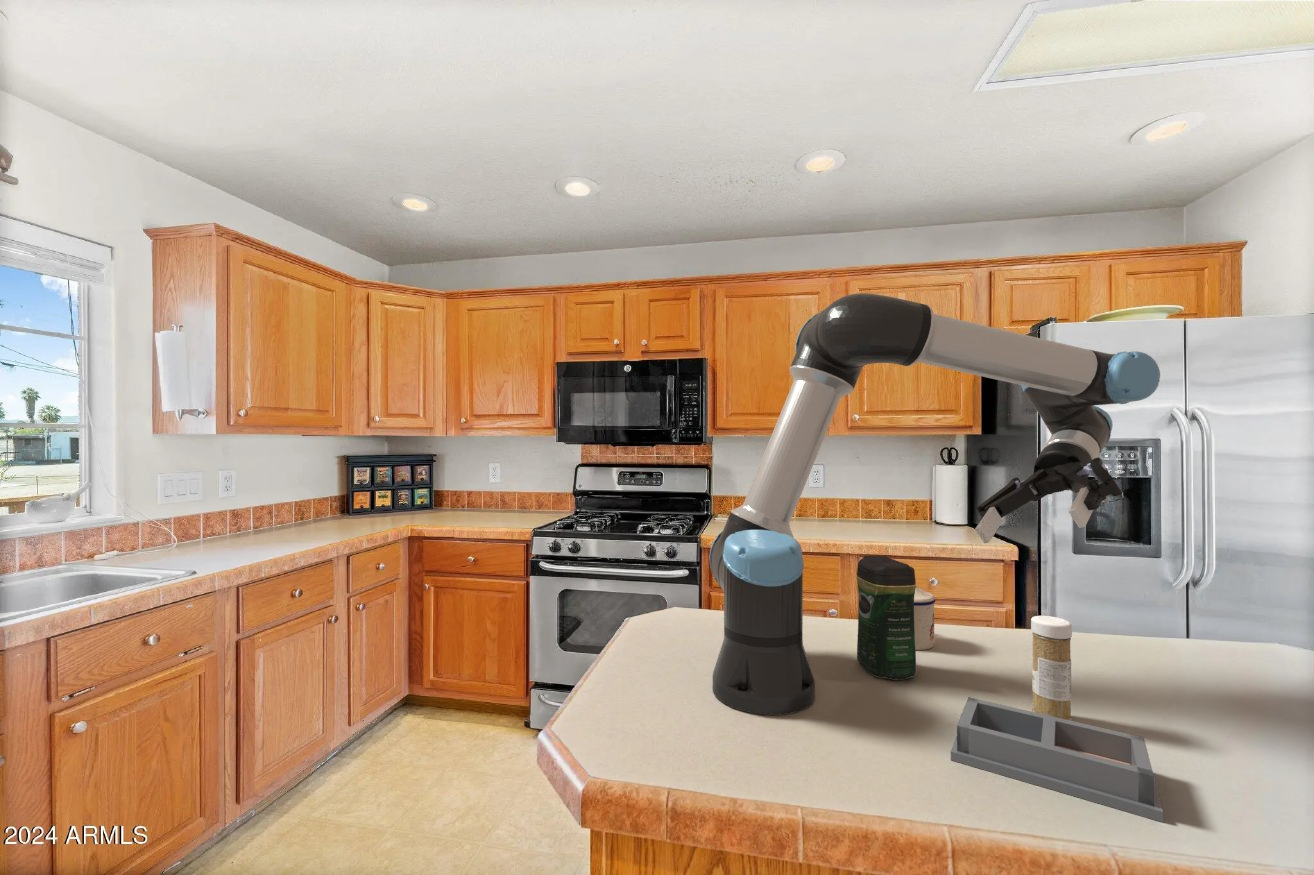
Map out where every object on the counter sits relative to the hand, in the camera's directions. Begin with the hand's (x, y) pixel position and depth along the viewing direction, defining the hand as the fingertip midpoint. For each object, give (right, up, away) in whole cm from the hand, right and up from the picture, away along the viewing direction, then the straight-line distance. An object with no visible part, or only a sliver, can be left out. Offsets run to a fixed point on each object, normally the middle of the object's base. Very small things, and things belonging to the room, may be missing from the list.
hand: (1026, 528), depth 83 cm
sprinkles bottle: (-1, -25, -6) cm, 26 cm away
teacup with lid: (-7, -26, +25) cm, 37 cm away
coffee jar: (-16, -25, +11) cm, 32 cm away
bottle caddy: (-9, -25, -18) cm, 32 cm away
